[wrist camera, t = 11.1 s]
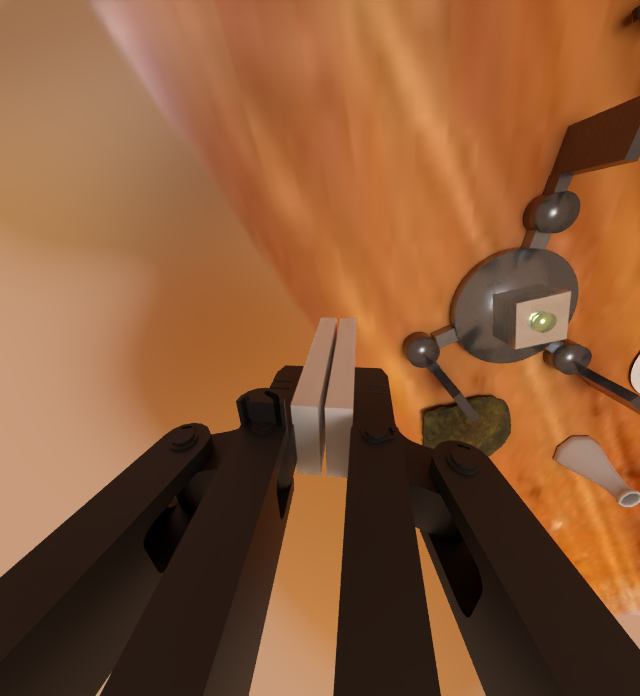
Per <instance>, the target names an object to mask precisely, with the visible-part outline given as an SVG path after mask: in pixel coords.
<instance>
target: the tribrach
mask: <svg viewBox="0 0 640 696" xmlns="http://www.w3.org/2000/svg"><path fill="white" fill-rule="evenodd" d="M639 156H640V96H639V97H636V98H634V99H632V100H629V101H627V102H624V103H622V104H620V105H617V106H615V107H613V108H610V109H608V110H606V111H603V112H601V113H599V114H596V115H594V116H592V117H589V118H587V119H585V120H582V121H580V122H578V123H575V124H573V125H570V126H569V127H568V129H567V132H566V135H565V138H564V140H563V143H562V146H561V148H560V151H559V154H558V157H557V159H556V162H555V165H554V167H553V170H552V173H551V175H550V176H549V179H548V181H547V184H546V187H545V190H544V192H543V195H541V196H538V197H536V198H535V199H533V200H532V201H531V202H530V203H529V205H528V206H527V208H526V209H525V212H524V215H523V223H524V226H525V228H526V229H527V233H526V236H525V238H524V241H523V244H522V247H521V248H512V249H507V250H504V251H500V252H498V253H495V254H493V255H491V256H489V257H487V258H486V259H484V260H483V261H481V262H480V263H478V264H477V265H476V266H475V267H474V268H473V269H471V270H470V271H469V273H468V274H467V275H466V276H465V277H464V278H463V280H462V281H461V283H460V284H459V286H458V288H457V289H456V291H455V294H454V296H453V299H452V302H451V306H450V325H448V326H446V327H444V328H442V329H439V330H437V331H435V332H432V333H431V334H432V337H433V339H434V341H435V342H436V343H437V345H438V346H439V348H441V347H444V346H446V345H448V344H451V343H453V342H455V341H458V343H459V344H460V345H461V346H462V347H463V348H464V349H466V350H467V351H468V352H469V353H471V354H472V355H473V356H475V357H477V358H478V359H481V360H483V361H486V362H491V363H511V362H516V361H520V360H523V359H526V358H529V357H531V356H533V355H535V354H537V353H539V352H540V351H542V350H545V351H544V354H543V358H544V361H545V362H546V363H547V364H549V365H550V366H552V367H554V368H555V369H557V370H559V371H561V372H562V373H564V374H569V375H571V374H577V375H578V376H580V377H581V378H582V379H583V380H584V381H585V382H586V383H588V384H589V385H590V386H592V387H593V388H595V389H597V390H598V391H600V392H602V393H604V394H605V395H607V396H609V397H611V398H612V399H614V400H616V401H617V402H619V403H621V404H623V405H624V406H626V407H628V408H630V409H631V410H633V411H635V412H636V413H638V414H640V396H639V395H637V394H635V393H633V392H631V391H630V390H628V389H626V388H624V387H622V386H620V385H618V384H616V383H614V382H612V381H610V380H608V379H606V378H605V377H603V376H601V375H599V374H597V373H595V372H593V371H591V370H589V369H588V368H587V366H588V364H589V363H590V361H591V356H592V355H591V352H590V350H589V349H587V348H586V347H583V346H581V345H579V344H577V343H574V342H572V341H570V340H567V329H568V323H569V322H570V320H571V318H572V316H573V314H574V311H575V308H576V305H577V300H578V282H577V278H576V275H575V273H574V271H573V269H572V267H571V266H570V264H569V263H568V262H567V261H566V260H565V259H564V258H562V257H561V256H559V255H558V254H556V253H554V252H551V251H548V250H545V248H546V246H547V243H548V241H549V238H550V236H551V233H559V232H562V231H564V230H566V229H567V228H569V227H570V226H571V225H572V224H573V223H574V221H575V220H576V218H577V216H578V214H579V211H580V200H579V198H578V196H577V195H576V194H575V193H573V192H570V191H567V189H568V186H569V184H570V181H571V179H572V176H573V175H577V174H581V173H586V172H590V171H595V170H599V169H604V168H608V167H613V166H617V165H622V164H626V163H631V162H635V161H638V159H639Z"/></svg>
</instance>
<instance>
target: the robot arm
mask: <svg viewBox="0 0 640 696" xmlns="http://www.w3.org/2000/svg"><path fill="white" fill-rule="evenodd" d="M356 322H357V318H340V324H339V330H338V335H337V318H321V319H320V322H319V325H318V328H317V330H316V333H315V336H314V339H313V342H312V345H311V348H310V351H309V353H308V356H307V359H306V362H305V365H304V366H284V367H283V368H282V369H281V370H280V371H278V372H277V374H276V376H275V378H274V380H273V382H272V384H271V386H270V388H258V389H255V390H251V391H248V392H247V393H245V394H243V395H241V396H240V397H239V399H238V400H237V401H236V403H237V408H238V412H239V417H240V422H241V426H240V427H239V429H236V430H233V431H229V432H223V433H217V434H210V431H209V429H208V427H207V426H205V425H203V424H198V423H191V424H185V425H182V426H179V427H177V428H175V429H173V430H172V431H170V432H169V433H167V434H166V435H164V436H163V437H162V438H161V439H160V440H159V441H158V442H156V443H155V444H154V445H153V446H152V447H151V448H149V449H148V450H147V451H146V452H145V453H144V454H143V455H141V456H140V457H139V458H138V459H137V460H136V461H134V462H133V463H132V464H131V465H130V466H129V467H128V468H126V469H125V470H124V471H123V472H122V473H121V474H120V475H118V476H117V477H116V478H115V479H114V480H112V481H111V482H110V483H109V484H108V485H107V486H105V487H104V488H103V489H102V490H101V491H100V492H99V493H97V494H96V495H95V496H94V497H93V498H92V499H90V500H89V501H88V502H87V503H86V504H85V505H84V506H82V507H81V508H80V509H79V510H78V511H77V512H76V513H74V514H73V515H72V516H71V517H70V518H68V519H67V520H66V521H65V522H64V523H63V524H62V525H60V526H59V527H58V528H57V529H56V530H55V531H53V532H52V533H51V534H50V535H49V536H48V537H47V538H45V539H44V540H43V541H42V542H41V543H40V544H38V545H37V546H36V547H35V548H34V549H33V550H32V551H30V552H29V553H28V554H27V555H26V556H25V557H23V558H22V559H21V560H20V561H19V562H18V563H17V564H15V565H14V566H13V567H12V568H11V569H10V570H9V571H7V572H6V573H5V574H4V575H3V576H1V577H0V696H95V695H96V694H97V692H98V691H99V690H100V688H101V687H102V685H103V684H104V682H105V681H106V679H107V678H108V677H109V675H110V674H111V675H110V677H109V679H108V681H107V683H106V684H105V686H104V688H103V690H102V692H101V694H100V696H249V691H250V686H251V682H252V677H253V673H254V668H255V664H256V659H257V655H258V650H259V646H260V641H261V636H262V632H263V628H264V623H265V619H266V614H267V609H268V605H269V600H270V596H271V591H272V587H273V582H274V578H275V573H276V568H277V564H278V559H279V555H280V550H281V546H282V541H283V536H284V532H285V528H286V522H287V518H288V514H289V509H290V505H291V500H292V496H293V491H294V479H293V475H294V470H295V466H296V464H297V473H302V474H313V475H321V472H322V465H323V458H324V450H325V444H326V465H327V476H336V477H346V478H347V493H346V509H345V524H344V539H343V556H342V571H341V587H340V601H339V617H338V632H337V648H336V664H335V679H334V694H333V696H441V694H440V687H439V680H438V674H437V667H436V661H435V654H434V648H433V641H432V635H431V628H430V621H429V615H428V609H427V602H426V596H425V589H424V582H423V576H422V569H421V563H420V556H419V550H418V544H417V536H416V530H415V527H417V528H419V529H420V532H421V534H422V537H423V539H424V542H425V544H426V547H427V549H428V552H429V554H430V557H431V559H432V562H433V564H434V567H435V569H436V572H437V574H438V577H439V579H440V582H441V584H442V587H443V589H444V592H445V594H446V597H447V599H448V602H449V604H450V607H451V609H452V612H453V614H454V617H455V619H456V622H457V624H458V627H459V629H460V632H461V634H462V637H463V639H464V642H465V645H466V647H467V650H468V652H469V655H470V657H471V659H472V662H473V665H474V667H475V670H476V672H477V675H478V677H479V679H480V682H481V685H482V687H483V690H484V692H485V694H486V696H640V649H639V648H638V647H637V645H636V644H635V643H634V642H633V640H632V639H631V638H630V637H629V635H628V634H627V633H626V632H625V630H624V629H623V628H622V626H621V625H620V624H619V623H618V621H617V620H616V619H615V617H614V616H613V615H612V614H611V612H610V611H609V610H608V609H607V607H606V606H605V605H604V603H603V602H602V601H601V600H600V598H599V597H598V596H597V595H596V593H595V592H594V591H593V589H592V588H591V587H590V586H589V584H588V583H587V582H586V581H585V579H584V578H583V577H582V575H581V574H580V573H579V572H578V570H577V569H576V568H575V567H574V565H573V564H572V563H571V561H570V560H569V559H568V558H567V556H566V555H565V554H564V553H563V551H562V550H561V549H560V548H559V546H558V545H557V544H556V542H555V541H554V540H553V539H552V537H551V536H550V535H549V534H548V532H547V531H546V530H545V528H544V527H543V526H542V525H541V523H540V522H539V521H538V520H537V518H536V517H535V516H534V514H533V513H532V512H531V511H530V509H529V508H528V507H527V506H526V504H525V503H524V502H523V500H522V499H521V498H520V497H519V495H518V494H517V493H516V492H515V490H514V489H513V488H512V486H511V485H510V484H509V483H508V481H507V480H506V479H505V478H504V476H503V475H502V474H501V472H500V471H499V470H498V469H497V467H496V466H495V465H494V464H493V462H492V461H491V460H490V459H489V458H488V457H487V456H486V455H485V454H484V453H483V452H482V451H481V450H479V449H478V448H476V447H474V446H472V445H471V444H468V443H464V442H461V441H453V440H448V441H444V442H441V443H439V444H438V445H437V446H436V447H435V448H434V449H432V448H429V447H426V446H423V445H420V444H417V443H415V442H412V441H411V440H409V439H407V438H406V437H404V436H403V435H402V434H401V433H400V432H399V429H398V428H397V427H396V424H395V420H394V414H393V407H392V401H391V394H390V388H389V381H388V376H387V375H386V374H385V372H384V371H383V370H382V369H381V368H357V367H355V354H356ZM173 499H174V500H173ZM111 672H112V673H111Z"/></svg>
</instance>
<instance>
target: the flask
mask: <svg viewBox="0 0 640 696" xmlns="http://www.w3.org/2000/svg"><path fill="white" fill-rule="evenodd" d="M553 459H554V460H555V461H556V462H558V463H559V464H561V465H562V466H564V467H566V468H568V469H570V470H572V471H574V472H576V473H578V474H579V475H581V476H583V477H585V478H587V479H589V480H591V481H592V482H594V483H596V484H598V485H600V486H601V487H602V488H604V489H605V490H607V491H608V492H609V493H610V494H611V495H613V496H614V497H615V498H616V502H617V503H618V504H620V505H621V506H623V507H633V506H635V505H636V504H638V503H640V492H638V491H637V490H634V489H632V488H631V487H630V486H628V485H627V484H626V483H625V481H624V480H623V479H622V478H621V477H620V476H619V475H618V473H617V472H616V470H615V469H614V467H613V466H612V464H611V463H610V461H609V459H608V458H607V456H606V454H605V453H604V451H603V449H602V448H601V446H600V445H599V443H598V442H596V441H595V440H594V439H592V438H591V437H589V436H571V437H570V438H569V439H567V440H566V441H565V442H563V443H562V444H561V445H560V446H558V447H557V450H556V453H555V456H554V458H553Z"/></svg>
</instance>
